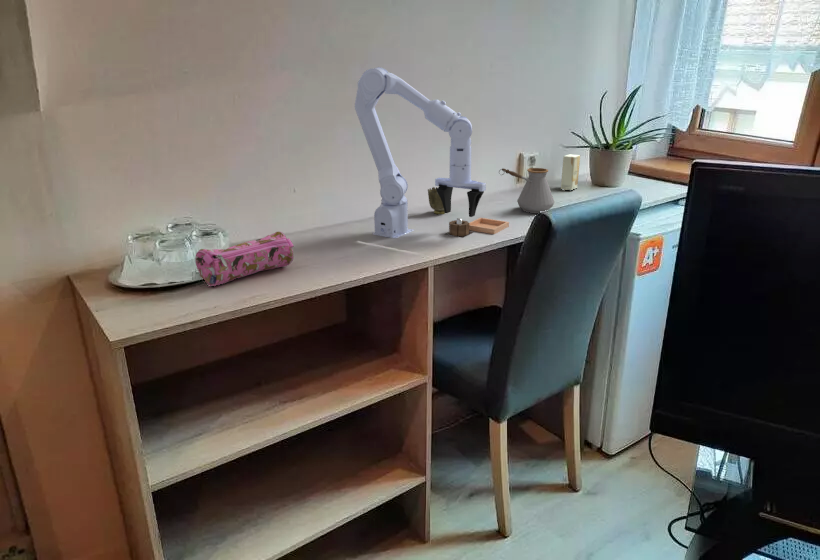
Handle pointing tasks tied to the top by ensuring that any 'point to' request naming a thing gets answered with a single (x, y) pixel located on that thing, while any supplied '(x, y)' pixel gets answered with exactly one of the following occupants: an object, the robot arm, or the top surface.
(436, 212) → the cup
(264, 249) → the pencil case
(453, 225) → the ring
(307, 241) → the top surface
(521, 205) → the coffee pot
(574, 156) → the skincare box
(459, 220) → the stand
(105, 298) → the top surface
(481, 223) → the dish
